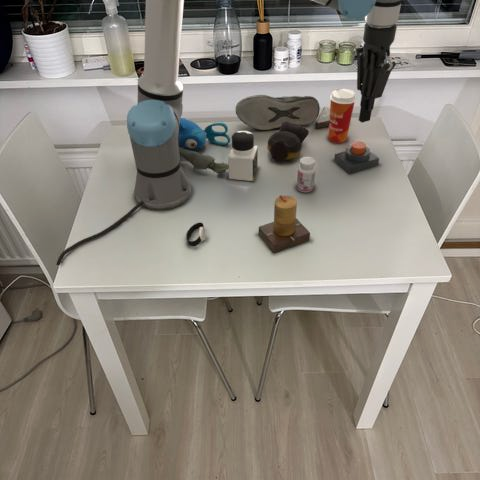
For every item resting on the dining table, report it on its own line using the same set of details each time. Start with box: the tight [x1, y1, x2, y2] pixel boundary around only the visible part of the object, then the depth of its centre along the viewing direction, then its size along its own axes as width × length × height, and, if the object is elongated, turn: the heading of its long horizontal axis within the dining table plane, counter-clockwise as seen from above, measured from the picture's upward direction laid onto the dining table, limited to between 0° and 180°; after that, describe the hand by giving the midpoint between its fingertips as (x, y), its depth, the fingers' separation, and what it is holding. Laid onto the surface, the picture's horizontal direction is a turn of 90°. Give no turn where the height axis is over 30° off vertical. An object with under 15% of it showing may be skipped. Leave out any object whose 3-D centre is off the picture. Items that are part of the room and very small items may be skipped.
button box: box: [333, 144, 380, 175], centre depth 138 cm, size 10×8×4 cm
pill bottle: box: [296, 156, 317, 193], centre depth 128 cm, size 5×5×8 cm
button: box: [351, 141, 367, 155], centre depth 136 cm, size 4×4×2 cm
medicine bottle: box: [227, 130, 259, 182], centre depth 132 cm, size 7×7×12 cm
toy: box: [178, 117, 207, 150], centre depth 143 cm, size 12×18×10 cm
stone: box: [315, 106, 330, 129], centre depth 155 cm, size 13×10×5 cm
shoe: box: [235, 94, 321, 131], centre depth 154 cm, size 10×27×12 cm
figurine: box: [266, 122, 309, 163], centre depth 141 cm, size 10×7×15 cm
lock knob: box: [273, 194, 298, 236], centre depth 112 cm, size 5×5×8 cm
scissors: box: [202, 122, 231, 146], centre depth 148 cm, size 7×1×20 cm
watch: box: [185, 222, 207, 247], centre depth 116 cm, size 8×5×4 cm, turn 170°
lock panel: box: [258, 217, 311, 254], centre depth 116 cm, size 10×9×3 cm
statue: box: [178, 146, 229, 175], centre depth 138 cm, size 7×8×30 cm
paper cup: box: [328, 88, 357, 144], centre depth 143 cm, size 8×8×14 cm
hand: (364, 120), depth 129 cm, fingers closed
